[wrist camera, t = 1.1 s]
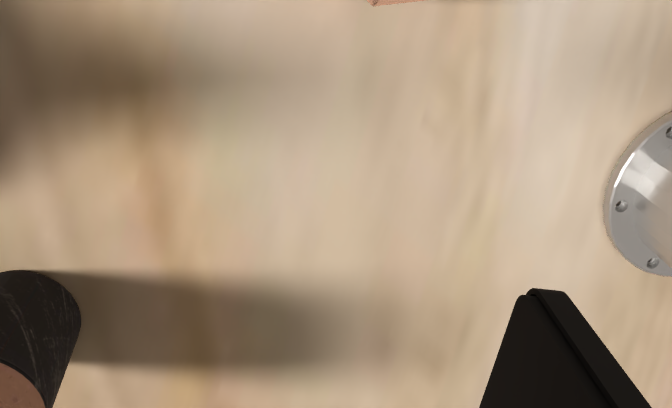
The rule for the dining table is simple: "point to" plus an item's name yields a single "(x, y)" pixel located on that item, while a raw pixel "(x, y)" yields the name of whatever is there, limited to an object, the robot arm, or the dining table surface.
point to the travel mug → (34, 338)
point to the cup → (389, 2)
